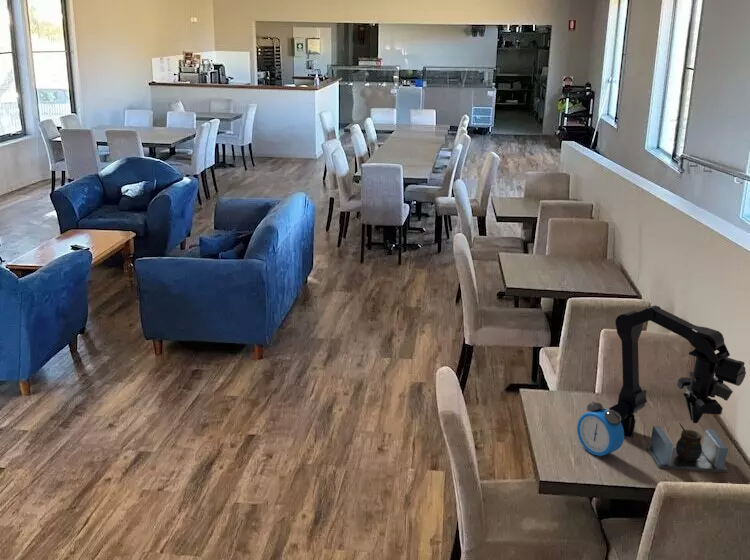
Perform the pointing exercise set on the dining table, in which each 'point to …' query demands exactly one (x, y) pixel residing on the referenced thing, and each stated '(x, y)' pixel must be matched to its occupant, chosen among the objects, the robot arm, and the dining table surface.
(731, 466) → the dining table surface
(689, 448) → the mate gourd
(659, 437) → the free jaw
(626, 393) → the robot arm
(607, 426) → the alarm clock
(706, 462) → the vise bed
